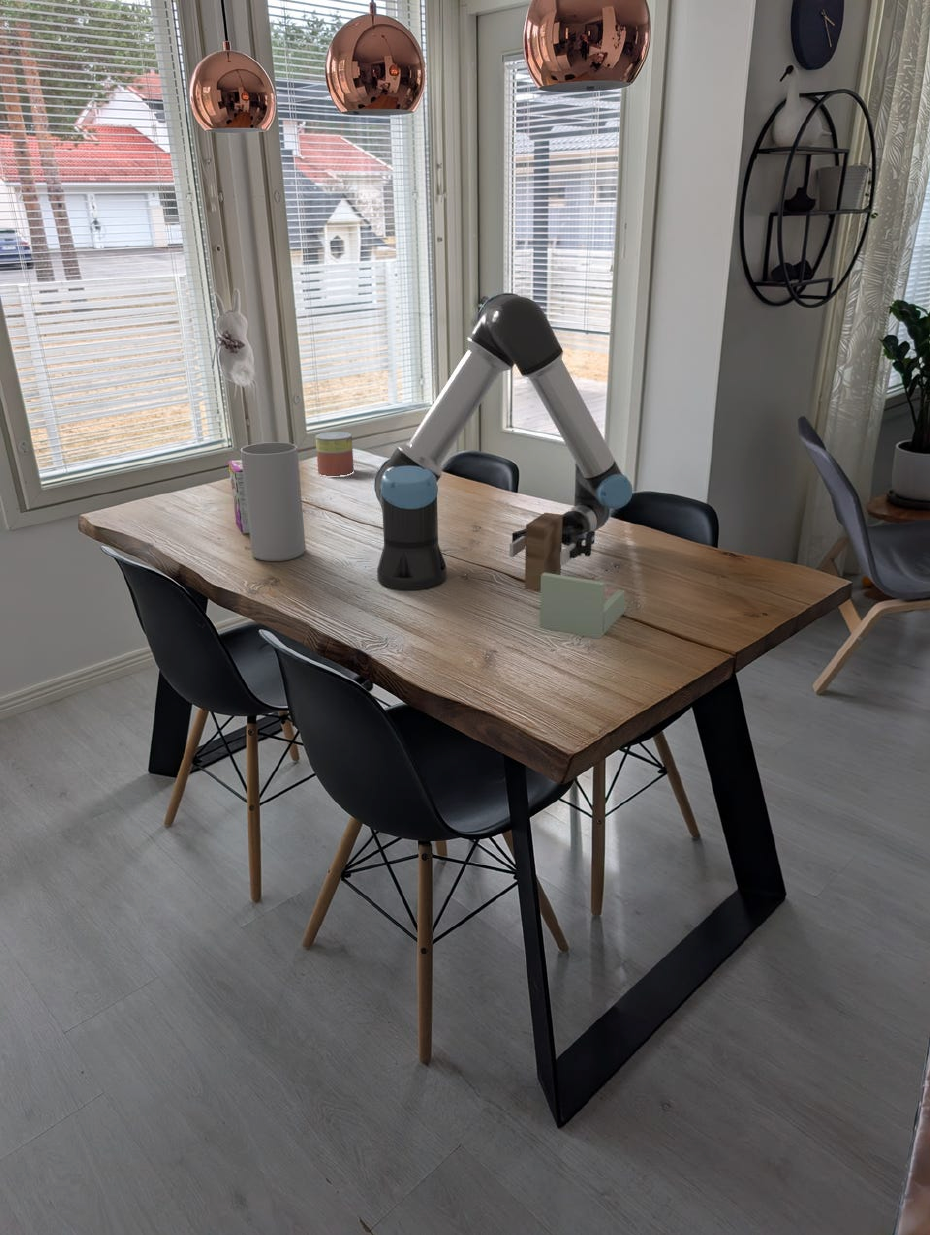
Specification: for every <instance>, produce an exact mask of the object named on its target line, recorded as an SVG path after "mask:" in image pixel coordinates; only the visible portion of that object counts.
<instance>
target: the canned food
mask: <svg viewBox="0 0 930 1235" xmlns="http://www.w3.org/2000/svg"><path fill="white" fill-rule="evenodd" d="M314 437H315V448H316V462H317V463H316V464H317V474H318V473H319V474H321V475H326V476H340V475H347V474H350V473H352V472H353V471H354V472H355V469H354V451H353V450H354V449H353V434H352V433H351V432H347V431H326V432H325V431H324V432H320V433H318V434H315V436H314Z"/></svg>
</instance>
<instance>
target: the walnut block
mask: <svg viewBox="0 0 930 1235" xmlns="http://www.w3.org/2000/svg"><path fill="white" fill-rule="evenodd" d="M562 517H563V514H558V513H552V512H544V513H542V514H540V515H539V516H538V517H536V518H534V519H533V520H532V521H530V522H528V523H527V524H525V529H526V546H525V566H524V571H525V572H524V573H525V574H524V590H528V591H529V590H530V591H537V592H541V575H542V574H543V573H550V574H556V575H562V573H561V572H562V570H561V569H562V565H560V552H562V548H563V547H562V546H563V544H562Z"/></svg>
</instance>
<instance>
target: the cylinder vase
mask: <svg viewBox="0 0 930 1235" xmlns="http://www.w3.org/2000/svg"><path fill="white" fill-rule="evenodd" d="M240 456H241V457H240V458H241V460H242V467H243V477H244V486H245V495H246V504H247V513H248V523H249V532H250V533H249V539H250V550H251V554H252V556H253V557H254V558H256V559H258V560H261V561H264V562H265V561H266V562H284V561H290V560H294V559H296V558H299V557H301V556H302V555H303V554H304V553H305V552H306V550H307V548H306V538H305V523H304V511H303V501H302V500H303V499H302V489H301V488H302V487H301V476H300V467H299V466H300V464H299V452H298V446H297V444H294V443H289V442H281V441H280V442H279V441H277V442H276V441H275V442H272V441H271V442H259V443H254V444H248V445H246V446H243V447H242V448H241V449H240Z"/></svg>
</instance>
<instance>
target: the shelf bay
mask: <svg viewBox="0 0 930 1235" xmlns="http://www.w3.org/2000/svg"><path fill="white" fill-rule="evenodd" d="M605 593H606V582H603V581H599V580H598V581H597V580H591V579H586V578H581V577H574V576H568V575H562V574H561V575H556V574H550V573H543V574H542V575H541V591H540V602H539V604H540V605H539V628H540V629H546V630H553V631H558V632H561V633H567V634H572V635H577V636H583V637H589V638H593V639H598V640H600V639H601V638H602V637H603V636H604V635H605V634H606V632H608V630H609V629H610V628H611V627H612V626H613V625H614V624H616V622H617V621H618V620H619V619H620V617H621V616H623V614H624V613H625V612H626V611H627V610H628V606H627V605H625V604H626V590H624V589H623V590H622V589H617V590H616V591H615V592H614V593H613V594H612V595H610V597H609V598H608V599H607V600H606V601H605V599H606V597H605V595H606V594H605Z"/></svg>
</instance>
